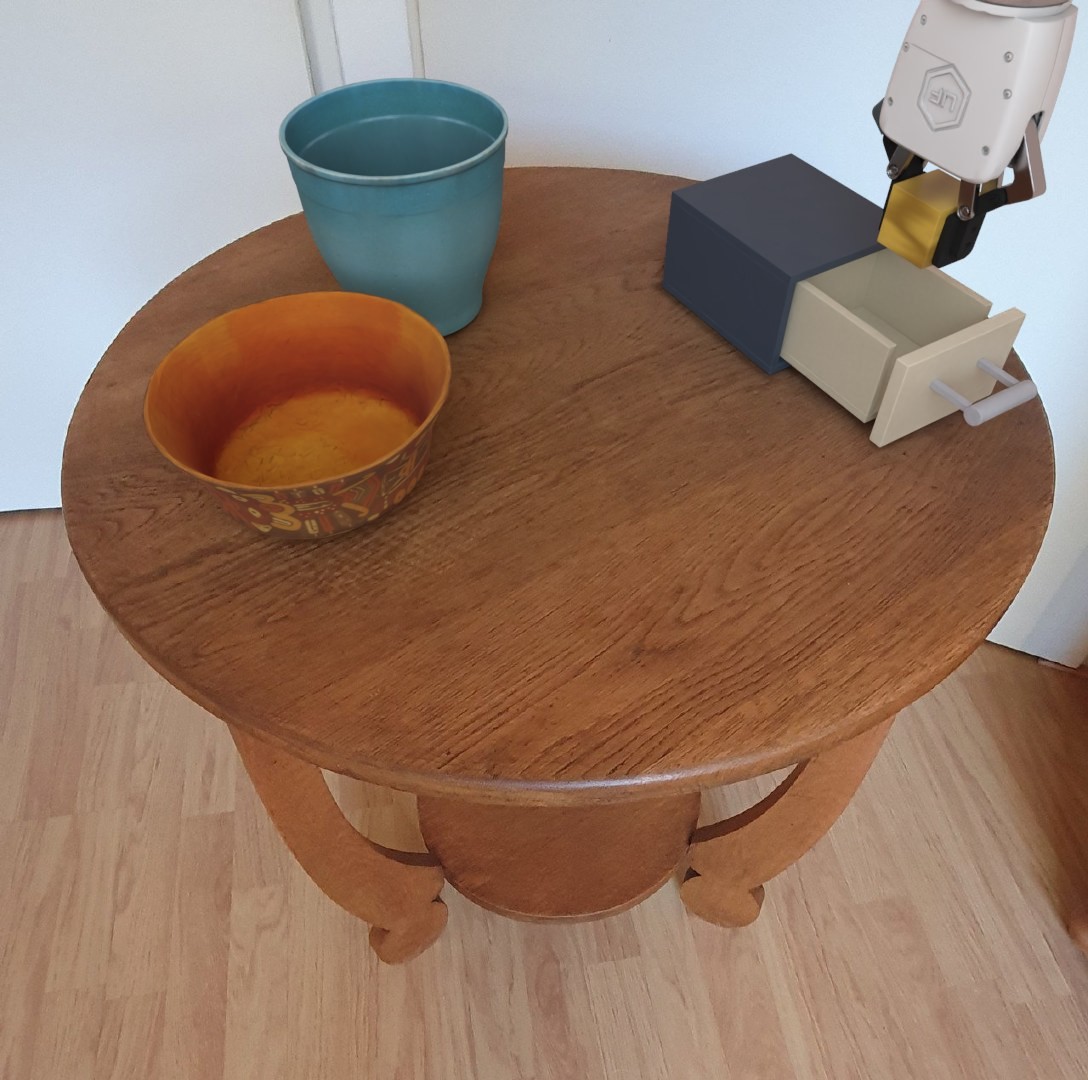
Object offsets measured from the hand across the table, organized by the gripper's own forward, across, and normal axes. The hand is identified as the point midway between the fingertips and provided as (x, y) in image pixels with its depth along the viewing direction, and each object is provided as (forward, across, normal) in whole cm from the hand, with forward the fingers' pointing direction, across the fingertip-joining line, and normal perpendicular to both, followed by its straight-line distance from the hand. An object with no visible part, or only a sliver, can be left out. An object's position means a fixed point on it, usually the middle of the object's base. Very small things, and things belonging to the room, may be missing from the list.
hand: (922, 242), depth 69 cm
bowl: (+14, -13, -44) cm, 48 cm away
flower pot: (+14, -30, -28) cm, 43 cm away
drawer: (+12, +2, 0) cm, 13 cm away
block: (0, 0, 0) cm, 0 cm away
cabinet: (+13, -13, 0) cm, 19 cm away
